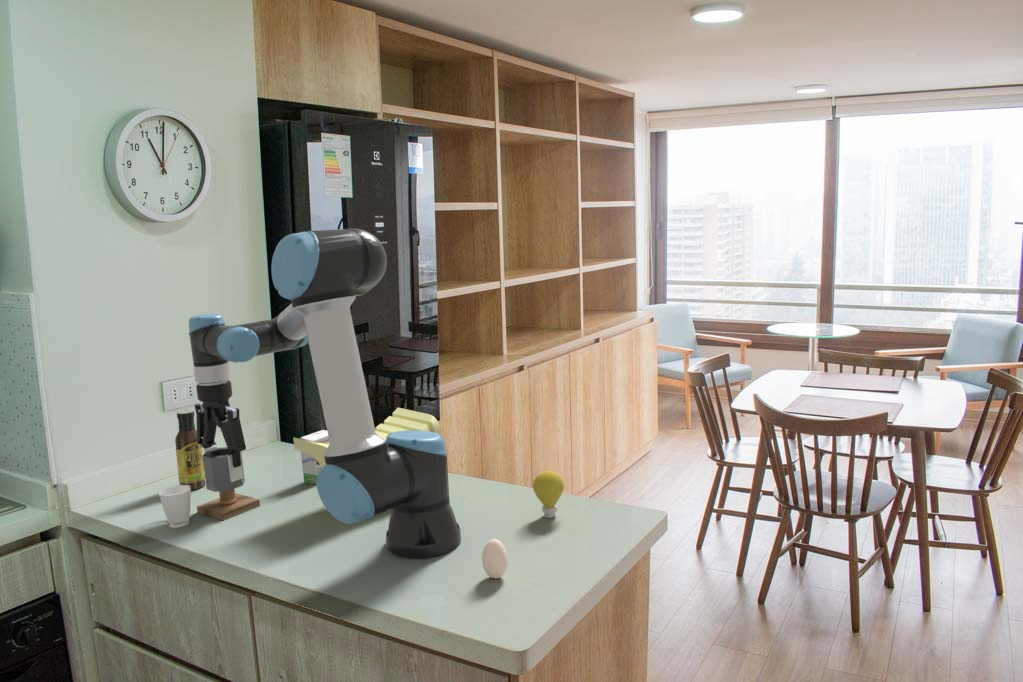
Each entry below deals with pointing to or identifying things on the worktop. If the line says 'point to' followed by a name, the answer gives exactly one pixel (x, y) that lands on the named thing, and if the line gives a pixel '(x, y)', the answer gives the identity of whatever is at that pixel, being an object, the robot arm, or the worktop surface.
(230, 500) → the post
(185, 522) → the cup
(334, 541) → the worktop surface
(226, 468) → the grey hollow octagonal piece
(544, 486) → the light bulb
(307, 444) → the slatted curved stool
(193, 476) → the sauce bottle
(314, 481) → the ink box
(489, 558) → the egg
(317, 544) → the worktop surface
